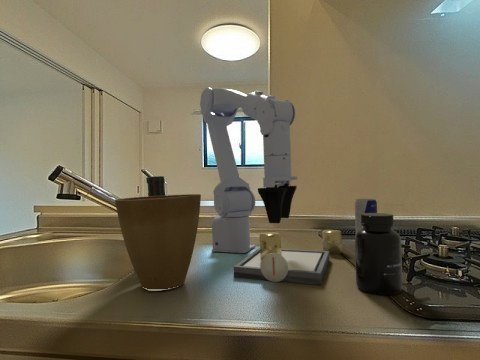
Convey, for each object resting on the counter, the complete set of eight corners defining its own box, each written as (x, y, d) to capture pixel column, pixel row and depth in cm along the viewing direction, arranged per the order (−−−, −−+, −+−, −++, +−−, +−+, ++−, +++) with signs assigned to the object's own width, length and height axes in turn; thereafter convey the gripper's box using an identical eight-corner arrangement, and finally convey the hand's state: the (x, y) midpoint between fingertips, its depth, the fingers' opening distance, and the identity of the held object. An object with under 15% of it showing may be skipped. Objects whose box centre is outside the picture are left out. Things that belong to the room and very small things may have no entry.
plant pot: (213, 272, 61) (210, 192, 61) (188, 302, 46) (184, 197, 46) (144, 271, 63) (141, 194, 63) (99, 299, 49) (95, 200, 49)
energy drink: (380, 247, 76) (379, 199, 76) (358, 247, 77) (356, 200, 77) (375, 243, 81) (374, 198, 81) (354, 243, 82) (352, 198, 82)
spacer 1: (257, 260, 61) (256, 235, 61) (263, 255, 66) (263, 232, 66) (278, 261, 60) (277, 236, 60) (283, 256, 64) (283, 232, 64)
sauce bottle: (180, 259, 72) (177, 175, 72) (163, 266, 66) (159, 175, 66) (158, 257, 75) (155, 176, 75) (140, 264, 69) (136, 176, 69)
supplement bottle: (401, 299, 44) (398, 217, 44) (352, 292, 48) (349, 216, 48) (404, 284, 50) (401, 212, 50) (360, 278, 54) (358, 211, 54)
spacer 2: (322, 253, 72) (321, 232, 72) (324, 249, 76) (323, 229, 76) (341, 254, 71) (340, 233, 71) (342, 250, 75) (341, 230, 75)
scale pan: (243, 269, 58) (243, 266, 58) (263, 252, 70) (263, 250, 70) (313, 274, 53) (313, 271, 53) (321, 256, 65) (321, 253, 65)
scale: (232, 278, 56) (231, 251, 56) (259, 256, 72) (258, 235, 72) (320, 286, 51) (319, 256, 51) (329, 260, 66) (328, 237, 66)
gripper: (287, 152, 56) (290, 226, 56) (302, 157, 70) (304, 216, 70) (252, 155, 59) (254, 225, 59) (272, 158, 72) (274, 215, 72)
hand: (279, 220), depth 64 cm, fingers open, 7 cm apart
